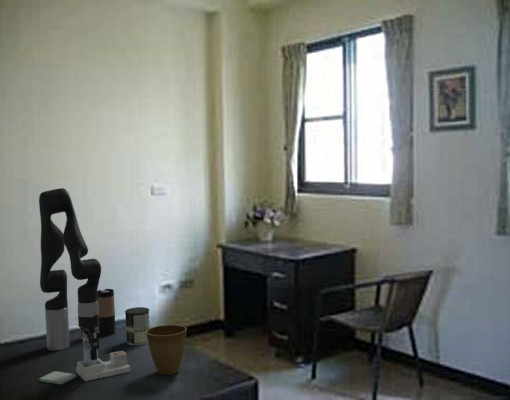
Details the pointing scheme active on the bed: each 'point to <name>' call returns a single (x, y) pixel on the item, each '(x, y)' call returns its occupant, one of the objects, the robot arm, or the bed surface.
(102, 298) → the travel mug
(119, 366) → the housing
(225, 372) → the bed surface
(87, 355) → the blue-grey elongated rounded piece
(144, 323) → the coffee can
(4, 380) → the bed surface
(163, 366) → the plant pot
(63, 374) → the mat
